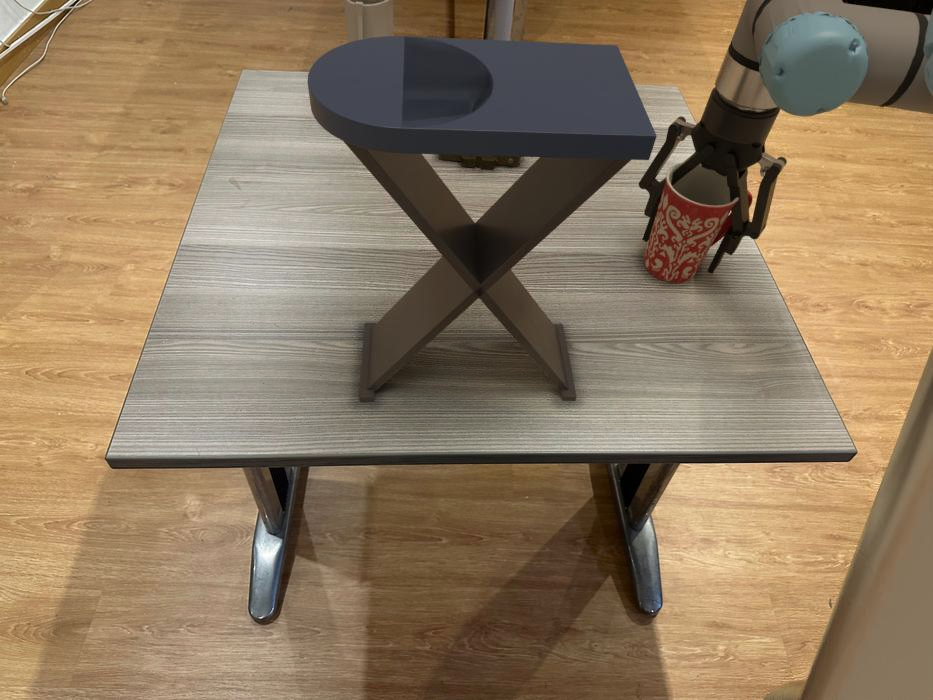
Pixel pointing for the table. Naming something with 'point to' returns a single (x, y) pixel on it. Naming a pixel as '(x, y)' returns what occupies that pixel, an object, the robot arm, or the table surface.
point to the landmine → (483, 160)
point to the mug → (688, 223)
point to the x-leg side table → (485, 134)
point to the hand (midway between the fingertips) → (680, 251)
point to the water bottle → (368, 19)
